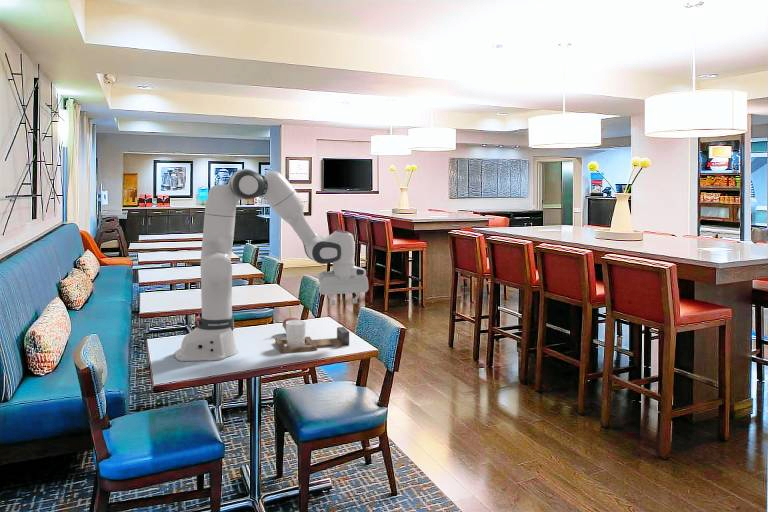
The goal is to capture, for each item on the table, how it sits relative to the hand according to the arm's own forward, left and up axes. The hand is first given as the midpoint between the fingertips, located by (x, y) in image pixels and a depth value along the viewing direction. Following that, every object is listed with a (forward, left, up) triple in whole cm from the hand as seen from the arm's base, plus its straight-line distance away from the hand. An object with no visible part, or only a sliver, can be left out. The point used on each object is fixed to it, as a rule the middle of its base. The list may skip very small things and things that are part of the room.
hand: (343, 303), depth 235 cm
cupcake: (-18, +18, -17) cm, 30 cm away
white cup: (-20, 0, -17) cm, 26 cm away
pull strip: (-12, 0, -16) cm, 20 cm away
